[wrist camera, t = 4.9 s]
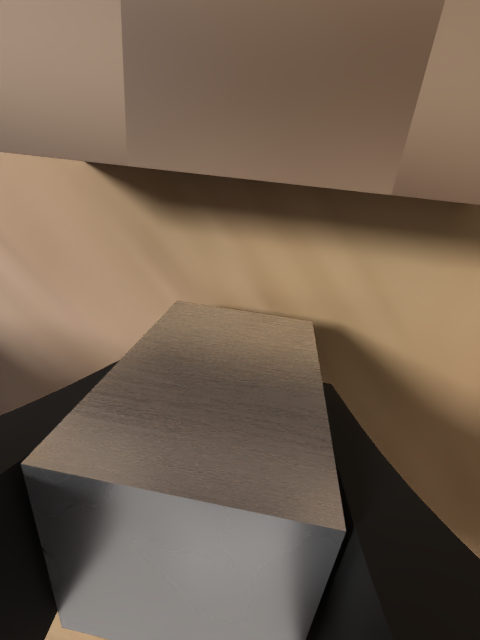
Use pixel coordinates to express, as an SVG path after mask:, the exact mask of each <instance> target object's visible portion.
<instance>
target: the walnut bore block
mask: <svg viewBox="0 0 480 640" xmlns="http://www.w3.org/2000/svg"><path fill="white" fill-rule="evenodd" d="M0 152H5V153H14V154H23V155H32V156H41V157H50V158H59V159H68V160H78V161H87V162H96V163H105V164H114V165H123V166H132V167H141V168H150V169H159V170H168V171H177V172H186V173H195V174H204V175H213V176H222V177H231V178H241V179H250V180H259V181H268V182H277V183H286V184H295V185H304V186H313V187H322V188H331V189H340V190H349V191H358V192H367V193H376V194H385V195H395V196H404V197H413V198H422V199H431V200H440V201H449V202H458V203H467V204H476V205H480V0H0Z"/></svg>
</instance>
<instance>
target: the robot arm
mask: <svg viewBox="0 0 480 640" xmlns="http://www.w3.org/2000/svg"><path fill="white" fill-rule="evenodd" d="M119 361H120V360H119ZM119 361H117V362H115V363H113V364H111V365H109V366H107V367H105V368H103V369H101V370H99V371H97V372H95V373H93V374H91V375H89V376H87V377H85V378H83V379H81V380H79V381H77V382H75V383H73V384H71V385H69V386H67V387H65V388H62V389H60V390H58V391H56V392H54V393H51V394H49V395H47V396H45V397H43V398H40V399H38V400H36V401H34V402H32V403H29V404H27V405H25V406H23V407H20V408H18V409H16V410H13V411H11V412H8V413H6V414H3V415H1V416H0V640H44V639H45V637H46V635H47V633H48V631H49V628H50V626H51V624H52V622H53V620H54V617H55V615H56V613H57V611H58V609H57V606H56V602H55V598H54V594H53V590H52V586H51V582H50V578H49V574H48V570H47V566H46V562H45V558H44V554H43V550H42V546H41V542H40V538H39V534H38V530H37V526H36V523H35V519H34V515H33V511H32V507H31V503H30V499H29V495H28V491H27V487H26V483H25V479H24V475H23V471H22V467H21V463H22V462H23V461H24V460H25V459H26V458H27V457H28V456H29V455H30V454H31V452H32V451H33V450H34V449H35V448H36V447H37V446H38V445H39V444H40V443H41V442H42V441H43V440H44V439H45V438H46V437H47V436H48V435H49V434H50V433H51V432H52V431H53V430H54V428H55V427H56V426H57V425H58V424H59V423H60V422H61V421H62V420H63V419H64V418H65V417H66V416H67V415H68V414H69V413H70V412H71V411H72V410H73V409H74V408H75V407H76V406H77V405H78V403H79V402H80V401H81V400H82V399H83V398H84V397H85V396H86V395H87V394H88V393H89V392H90V391H91V390H92V389H93V388H94V387H95V386H96V385H97V384H98V383H99V382H100V381H101V380H102V378H103V377H104V376H105V375H106V374H107V373H108V372H109V371H110V370H111V369H112V368H113V367H114V366H115V365H116V364H117V363H118V362H119ZM322 384H323V390H324V397H325V403H326V409H327V415H328V422H329V428H330V434H331V440H332V447H333V453H334V459H335V465H336V471H337V478H338V484H339V490H340V496H341V503H342V509H343V515H344V521H345V528H346V533H345V536H344V538H343V541H342V544H341V546H340V549H339V552H338V554H337V557H336V560H335V562H334V565H333V568H332V570H331V573H330V576H329V578H328V581H327V584H326V586H325V589H324V592H323V594H322V597H321V600H320V602H319V605H318V608H317V610H316V613H315V616H314V618H313V621H312V624H311V626H310V629H309V632H308V634H307V637H306V640H480V559H479V558H478V557H477V556H476V555H475V554H474V553H473V552H472V551H471V550H470V549H469V548H468V547H467V546H466V545H465V544H464V543H463V542H462V541H461V540H460V539H459V538H458V537H457V536H456V535H455V534H454V533H453V532H452V531H451V530H450V529H449V528H448V527H447V526H446V525H445V524H444V523H443V522H442V521H441V520H440V519H439V518H438V517H437V516H436V515H435V514H434V513H433V512H432V510H431V509H430V508H429V507H428V506H427V505H426V504H425V503H424V502H423V501H422V500H421V499H420V498H419V497H418V496H417V494H416V493H415V492H414V491H413V490H412V489H411V488H410V487H409V486H408V484H407V483H406V482H405V481H404V480H403V478H402V477H401V476H400V475H399V474H398V473H397V471H396V470H395V469H394V468H393V467H392V465H391V464H390V463H389V462H388V461H387V460H386V458H385V457H384V456H383V455H382V453H381V452H380V451H379V450H378V448H377V447H376V446H375V444H374V443H373V442H372V440H371V439H370V438H369V436H368V435H367V434H366V433H365V431H364V430H363V429H362V427H361V426H360V424H359V423H358V422H357V420H356V419H355V417H354V416H353V415H352V413H351V412H350V410H349V409H348V407H347V406H346V405H345V403H344V402H343V400H342V399H341V397H340V396H339V394H338V393H337V392H336V390H335V389H334V387H333V386H332V385H331V384H328V383H322Z"/></svg>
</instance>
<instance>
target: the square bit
mask: <svg viewBox="0 0 480 640" xmlns="http://www.w3.org/2000/svg"><path fill="white" fill-rule="evenodd" d="M21 467H22V471H23V475H24V479H25V483H26V487H27V491H28V495H29V499H30V503H31V507H32V511H33V515H34V519H35V523H36V526H37V530H38V534H39V538H40V542H41V546H42V550H43V554H44V558H45V562H46V566H47V570H48V574H49V578H50V582H51V586H52V590H53V594H54V598H55V602H56V606H57V609H58V613H59V617H60V621H61V625H62V628H66V629H70V630H74V631H78V632H82V633H86V634H90V635H94V636H98V637H102V638H105V639H109V640H306V637H307V634H308V632H309V629H310V626H311V624H312V621H313V618H314V616H315V613H316V610H317V608H318V605H319V602H320V600H321V597H322V594H323V592H324V589H325V586H326V584H327V581H328V578H329V576H330V573H331V570H332V568H333V565H334V562H335V560H336V557H337V554H338V552H339V549H340V546H341V544H342V541H343V538H344V536H345V533H346V528H345V521H344V515H343V509H342V503H341V496H340V490H339V484H338V478H337V471H336V465H335V459H334V453H333V447H332V440H331V434H330V428H329V422H328V415H327V409H326V403H325V397H324V390H323V384H322V378H321V372H320V366H319V359H318V353H317V347H316V341H315V334H314V328H313V322H312V321H308V320H301V319H294V318H288V317H281V316H274V315H268V314H261V313H254V312H248V311H241V310H234V309H228V308H221V307H214V306H208V305H201V304H194V303H187V302H181V301H176V302H175V303H174V304H173V305H172V307H171V308H170V309H169V310H168V311H167V312H166V313H165V314H164V315H163V316H162V317H161V318H160V319H159V320H158V321H157V322H156V323H155V324H154V325H153V326H152V327H151V328H150V329H149V331H148V332H147V333H146V334H145V335H144V336H143V337H142V338H141V339H140V340H139V341H138V342H137V343H136V344H135V345H134V346H133V347H132V348H131V349H130V350H129V351H128V352H127V353H126V354H125V356H124V357H123V358H122V359H121V360H120V361H119V362H118V363H117V364H116V365H115V366H114V367H113V368H112V369H111V370H110V371H109V372H108V373H107V374H106V375H105V376H104V377H103V378H102V380H101V381H100V382H99V383H98V384H97V385H96V386H95V387H94V388H93V389H92V390H91V391H90V392H89V393H88V394H87V395H86V396H85V397H84V398H83V399H82V400H81V401H80V402H79V403H78V405H77V406H76V407H75V408H74V409H73V410H72V411H71V412H70V413H69V414H68V415H67V416H66V417H65V418H64V419H63V420H62V421H61V422H60V423H59V424H58V425H57V426H56V427H55V428H54V430H53V431H52V432H51V433H50V434H49V435H48V436H47V437H46V438H45V439H44V440H43V441H42V442H41V443H40V444H39V445H38V446H37V447H36V448H35V449H34V450H33V451H32V452H31V454H30V455H29V456H28V457H27V458H26V459H25V460H24V461H23V462H22V463H21Z"/></svg>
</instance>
